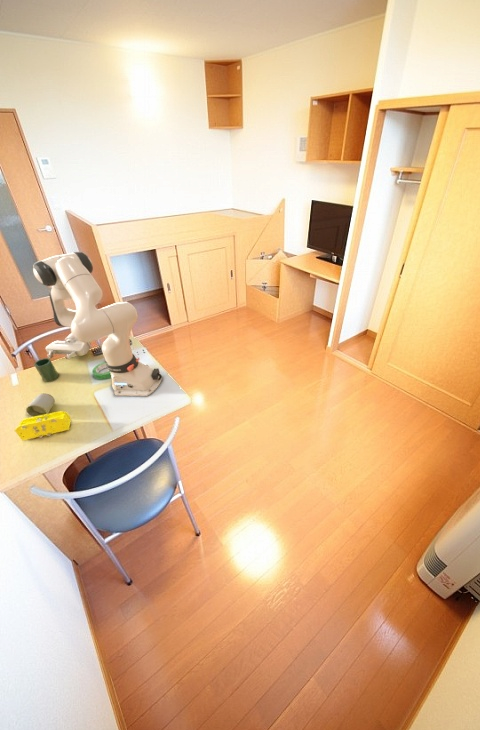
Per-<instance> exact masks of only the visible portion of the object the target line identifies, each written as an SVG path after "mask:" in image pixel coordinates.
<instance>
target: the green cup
mask: <svg viewBox="0 0 480 730" xmlns="http://www.w3.org/2000/svg"><path fill="white" fill-rule="evenodd" d="M33 364H34V365H33V366H34V367H35V370H37V372H38V375H40V377H41V379H42V380H43V382H45V383H51V382H54V381H55V380H57V379H58V378H59V373H58V371H57V369H56V367H55V365H54V363H53V362H52V360H51V358H48V357H46V358H45V357H44V358H41V359H38V360H37V361H35V362H34V363H33Z"/></svg>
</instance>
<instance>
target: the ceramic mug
mask: <svg viewBox="0 0 480 730" xmlns="http://www.w3.org/2000/svg"><path fill="white" fill-rule="evenodd" d="M55 399H56V398H55V397H54V396H52V395H51V394H50V393H39V394H38V395H36V396H35V397H34V398H33V400H32V401H31V402H30V403H29V404H28V405H26V407H25V414H26V415H28V416H30V417H35V416H40V415H45V414H49V413H50V411H51V410H52V408H53V407H54V405H55V402H56V400H55Z"/></svg>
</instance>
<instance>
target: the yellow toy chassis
mask: <svg viewBox="0 0 480 730" xmlns="http://www.w3.org/2000/svg"><path fill="white" fill-rule="evenodd" d="M71 422H72V418H71V417H70V415H69V414H68V412H67V411H62V410H58V411H54V412H49V413H48V414H45V415H40V416H35V417H32V416H30V417H27V418H23V419H21V421H20V422H19V425H18V426H17V427H15V429H14V432H15V433H16V435H17V436H18V438H20V440H21V441H27V440H30V439H31V440H33V439H36V438H40V439H43V438H44V437H43V436H47V437H51V435H53V434H56V433H62V432H65V431H69V430H70V425H71Z"/></svg>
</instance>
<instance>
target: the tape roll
mask: <svg viewBox="0 0 480 730" xmlns="http://www.w3.org/2000/svg"><path fill="white" fill-rule="evenodd" d="M106 368H107V365H106V361H103V362H101V363H98V364H97V365H95V366H94V367H93V369H92V375H93V377H94V378H95V379H96V380H107V379H110V378H111V373H110V371H109V370H107V371H106V372H100V371H102V370H104V369H106ZM107 369H108V368H107Z"/></svg>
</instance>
